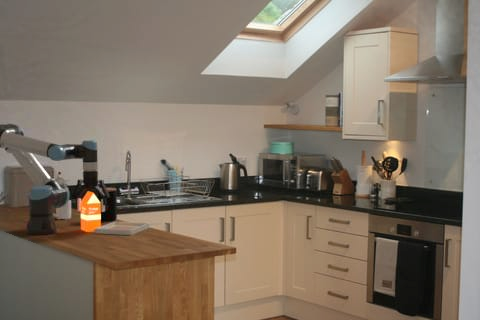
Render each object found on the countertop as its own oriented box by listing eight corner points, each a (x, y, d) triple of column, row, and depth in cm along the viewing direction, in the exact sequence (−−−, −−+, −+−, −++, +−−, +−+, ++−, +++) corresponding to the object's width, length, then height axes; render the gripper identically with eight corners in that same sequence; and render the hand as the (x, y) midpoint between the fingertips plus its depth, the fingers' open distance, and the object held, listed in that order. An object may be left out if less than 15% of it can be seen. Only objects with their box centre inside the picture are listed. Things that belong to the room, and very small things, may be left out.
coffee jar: (93, 220, 392) (93, 188, 391) (109, 218, 400) (108, 187, 399) (105, 222, 385) (104, 190, 384) (120, 220, 393) (120, 188, 391)
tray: (131, 235, 346) (131, 230, 346) (94, 233, 351) (94, 228, 351) (149, 227, 369) (149, 223, 369) (114, 225, 374) (114, 221, 374)
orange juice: (86, 232, 354) (86, 193, 353) (80, 229, 362) (80, 191, 360) (101, 230, 358) (100, 192, 357) (95, 228, 366) (94, 190, 364)
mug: (53, 220, 391) (53, 202, 390) (47, 218, 397) (47, 201, 396) (73, 218, 398) (73, 200, 397) (67, 217, 404) (67, 199, 404)
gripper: (115, 170, 358) (116, 210, 360) (71, 169, 365) (72, 209, 366) (109, 171, 351) (110, 212, 353) (64, 170, 357) (65, 211, 359)
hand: (91, 211), depth 359 cm, fingers open, 13 cm apart
